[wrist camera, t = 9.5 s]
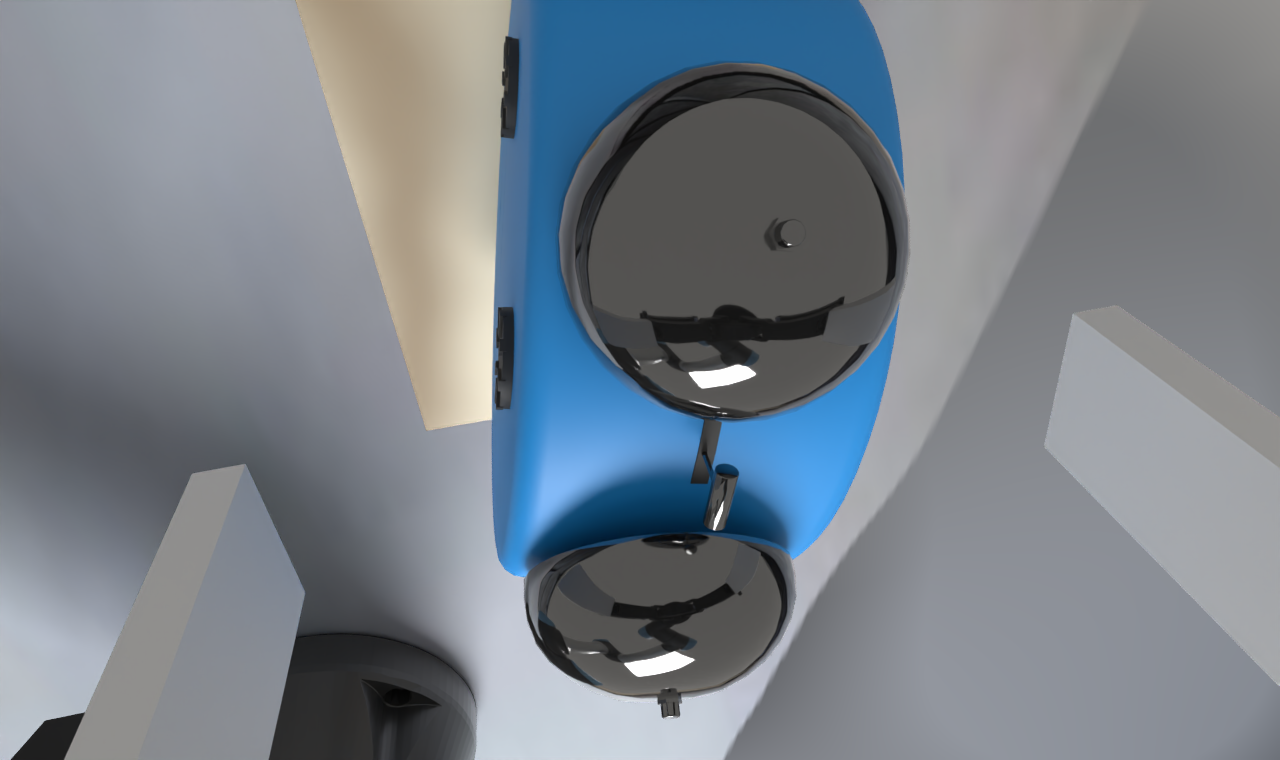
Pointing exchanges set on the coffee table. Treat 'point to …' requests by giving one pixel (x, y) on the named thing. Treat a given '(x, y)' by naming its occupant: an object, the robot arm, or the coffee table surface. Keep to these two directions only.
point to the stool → (424, 174)
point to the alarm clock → (685, 321)
